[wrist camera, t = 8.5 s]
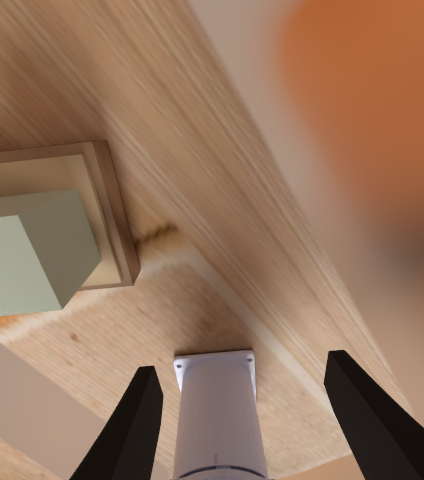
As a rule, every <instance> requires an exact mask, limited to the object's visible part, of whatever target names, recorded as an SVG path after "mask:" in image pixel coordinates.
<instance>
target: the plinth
mask: <svg viewBox="0 0 424 480" xmlns="http://www.w3.org/2000/svg"><path fill="white" fill-rule="evenodd" d="M75 188H77V190H78V193H79V196H80V199H81V202H82V205H83V207H84V210H85V213H86V216H87V219H88V222H89V225H90V228H91V230H92V233H93V236H94V239H95V242H96V245H97V248H98V251H99V253H100V256H101V259H102V261H101V262H100V263H99V265H98V266H97V267H96V268H95V270H94V271H93V272H92V273H91V275H90V276H89V277H88V278H87V280H86V281H85V282H84V283H83V285H82V286H81V287H80V288H79V290H78V291H82V290H93V289H103V288H114V287H124V286H133V285H134V283H135V281H136V279H137V277H138V274H139V272H140V266H139V262H138V258H137V254H136V251H135V247H134V243H133V239H132V235H131V232H130V228H129V224H128V220H127V217H126V213H125V209H124V205H123V201H122V198H121V194H120V190H119V186H118V182H117V179H116V175H115V171H114V167H113V163H112V160H111V156H110V152H109V148H108V145H107V141H106V140H101V141H91V142H83V143H74V144H65V145H56V146H47V147H38V148H30V149H21V150H12V151H3V152H0V197H8V196H16V195H25V194H33V193H42V192H50V191H58V190H67V189H75Z"/></svg>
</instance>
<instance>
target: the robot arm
mask: <svg viewBox="0 0 424 480" xmlns="http://www.w3.org/2000/svg"><path fill="white" fill-rule="evenodd" d="M249 358H250V359H249ZM173 364H174V368H175V372H176V376H177V380H178V385H179V389H180V393H181V399H180V409H179V419H178V428H177V438H176V448H175V458H174V468H173V478H172V479H170V480H275V479H269V477H268V471H267V465H266V460H265V454H264V448H263V442H262V437H261V431H260V425H259V419H258V414H257V405H256V382H255V358H254V352H253V351H251V350H243V351H231V352H220V353H208V354H197V355H185V356H176V357H175V358H174V360H173ZM178 364H179V365H178ZM324 386H325V388H326V391H327V394H328V397H329V400H330V403H331V406H332V408H333V411H334V413H335V416H336V418H337V420H338V422H339V424H340V427H341V429H342V431H343V433H344V435H345V437H346V439H347V442H348V444H349V446H350V448H351V450H352V452H353V454H354V457H355V459H356V461H357V463H358V465H359V467H360V469H361V471H362V474H363V476H364V478H365V480H424V428H423V427H422V426H421V425H420V424H419V423H418V422H417V421H416V420H414V419H413V418H412V417H411V416H410V415H409V414H408V413H407V412H406V411H405V410H404V409H403V408H402V407H401V406H400V405H399V404H398V403H396V402H395V401H394V400H393V399H392V398H391V397H390V396H389V395H388V394H387V393H386V392H385V391H384V390H383V389H382V388H381V387H380V386H379V385H378V384H377V383H376V382H375V381H374V380H373V379H372V378H371V377H370V376H369V375H368V374H367V373H366V372H365V371H364V370H363V369H362V368H361V367H360V366H359V365H358V364H357V362H356V361H355V360H354V359H353V358H352V357H351V356H350V355H349V354H348V353H347V352H346V351H345V350H336V351H329V353H328V359H327V365H326V372H325V378H324ZM162 407H163V393H162V390H161V386H160V383H159V380H158V377H157V373H156V370H155V367H154V366H144V367H139V368H138V369H137V371H136V373H135V375H134V377H133V379H132V380H131V382H130V384H129V386H128V388H127V390H126V391H125V393H124V395H123V397H122V398H121V400H120V402H119V404H118V405H117V407H116V409H115V410H114V412H113V414H112V415H111V417H110V419H109V420H108V422H107V424H106V425H105V427H104V429H103V430H102V432H101V433H100V435H99V436H98V438H97V439H96V441H95V442H94V444H93V445H92V447H91V448H90V450H89V452H88V453H87V455H86V456H85V458H84V459H83V461H82V462H81V463H80V465H79V467H78V468H77V469H76V471H75V472H74V474H73V475H72V476H71V478H70V479H69V480H150V478H151V473H152V468H153V463H154V457H155V452H156V447H157V442H158V437H159V431H160V426H161V417H162Z"/></svg>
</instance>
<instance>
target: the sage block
mask: <svg viewBox="0 0 424 480" xmlns="http://www.w3.org/2000/svg"><path fill="white" fill-rule="evenodd" d="M101 261H102V259H101V256H100V253H99V251H98V248H97V245H96V242H95V239H94V236H93V233H92V230H91V228H90V225H89V222H88V219H87V216H86V213H85V210H84V207H83V205H82V202H81V199H80V196H79V193H78V190H77V188H75V189H67V190H58V191H50V192H42V193H33V194H25V195H16V196H8V197H0V316H6V315H16V314H26V313H35V312H45V311H55V310H62V309H63V308H64V307H65V306H66V304H67V303H68V302H69V301H70V299H71V298H72V297H73V296H74V294H75V293H76V292H77V291H78V290H79V288H80V287H81V286H82V285H83V283H84V282H85V281H86V280H87V278H88V277H89V276H90V275H91V273H92V272H93V271H94V270H95V268H96V267H97V266H98V265H99V263H100V262H101Z"/></svg>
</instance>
